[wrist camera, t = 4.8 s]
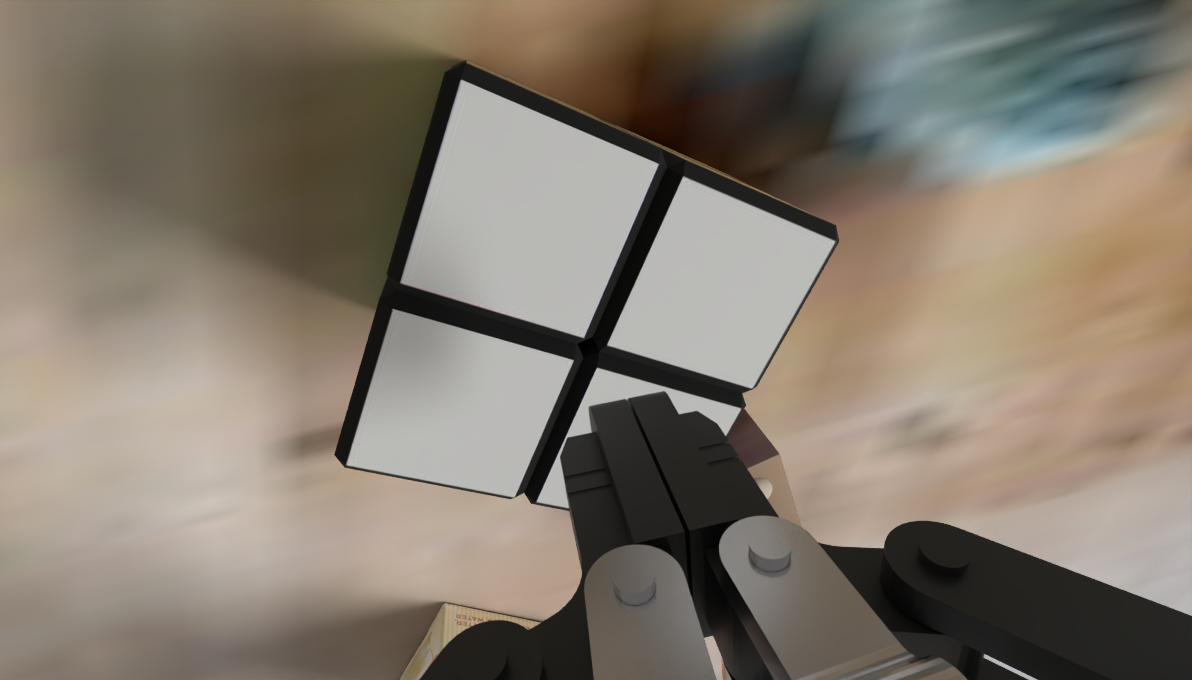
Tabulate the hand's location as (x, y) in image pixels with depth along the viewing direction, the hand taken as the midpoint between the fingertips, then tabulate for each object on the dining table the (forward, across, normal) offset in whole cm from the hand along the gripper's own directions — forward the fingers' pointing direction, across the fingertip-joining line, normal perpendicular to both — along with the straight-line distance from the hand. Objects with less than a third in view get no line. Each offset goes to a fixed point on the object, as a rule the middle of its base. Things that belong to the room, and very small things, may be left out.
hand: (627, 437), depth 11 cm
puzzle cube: (+14, 0, 0) cm, 14 cm away
